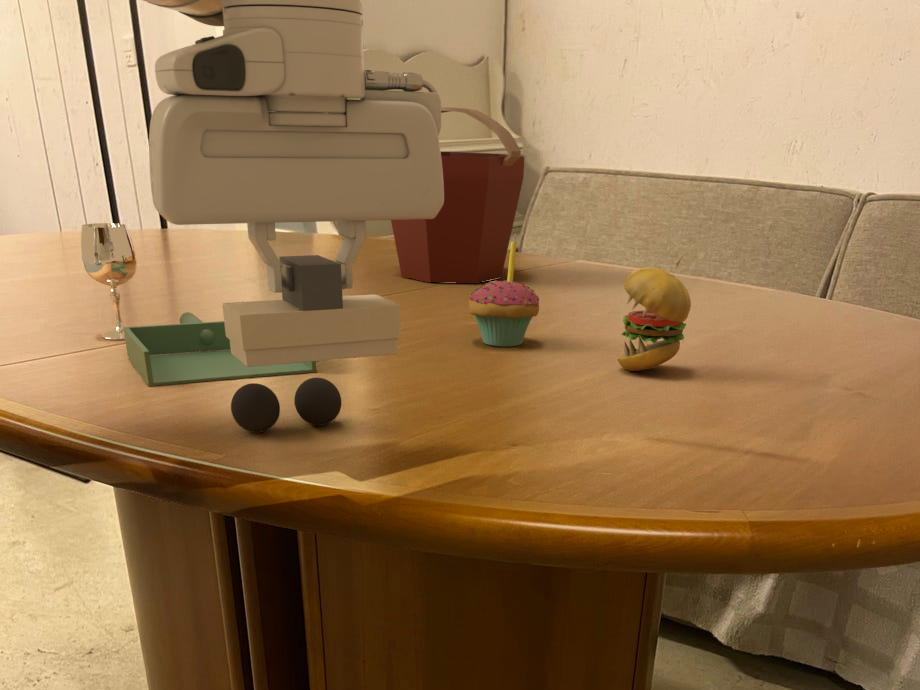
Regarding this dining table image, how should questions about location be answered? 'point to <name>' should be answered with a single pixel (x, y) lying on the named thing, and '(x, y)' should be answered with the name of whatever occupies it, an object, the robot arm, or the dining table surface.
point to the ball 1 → (255, 407)
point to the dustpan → (193, 354)
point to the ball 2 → (317, 401)
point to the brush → (312, 320)
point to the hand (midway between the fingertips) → (310, 289)
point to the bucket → (466, 215)
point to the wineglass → (109, 261)
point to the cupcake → (504, 308)
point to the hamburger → (654, 317)
